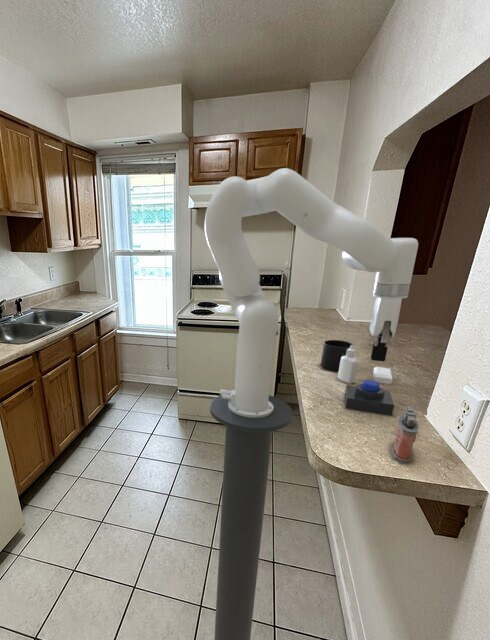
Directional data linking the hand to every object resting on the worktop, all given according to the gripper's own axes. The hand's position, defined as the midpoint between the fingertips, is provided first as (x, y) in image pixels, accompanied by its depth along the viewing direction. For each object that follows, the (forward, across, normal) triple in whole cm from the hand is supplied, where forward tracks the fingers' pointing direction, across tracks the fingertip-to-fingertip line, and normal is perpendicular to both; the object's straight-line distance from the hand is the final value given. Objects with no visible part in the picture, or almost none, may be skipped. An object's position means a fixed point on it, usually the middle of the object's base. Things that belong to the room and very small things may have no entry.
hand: (377, 359), depth 94 cm
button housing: (+13, 0, -1) cm, 13 cm away
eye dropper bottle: (+13, -17, -6) cm, 22 cm away
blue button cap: (+9, 0, -1) cm, 9 cm away
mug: (+13, -28, -9) cm, 32 cm away
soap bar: (+14, -24, +5) cm, 28 cm away
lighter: (+13, +24, +4) cm, 28 cm away
